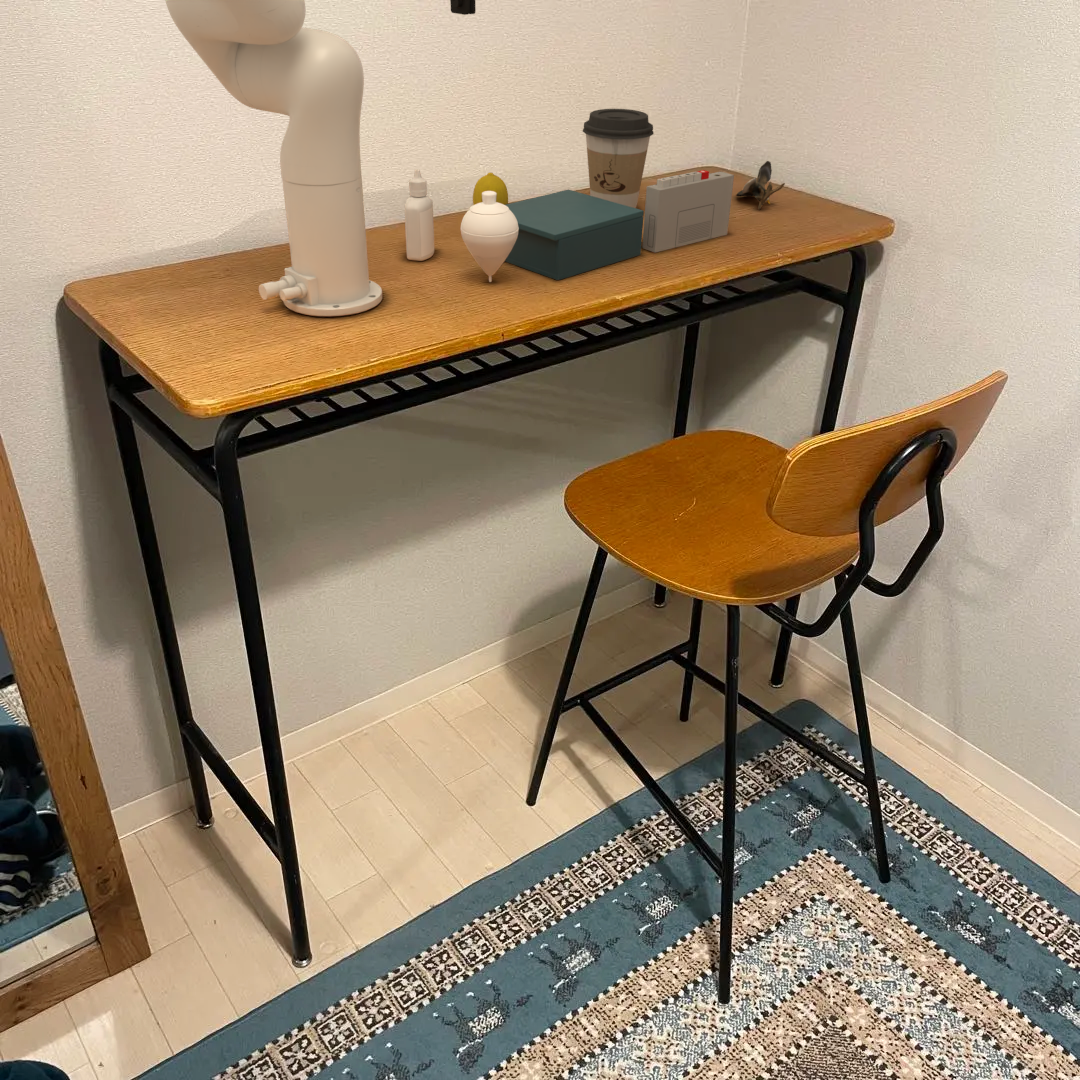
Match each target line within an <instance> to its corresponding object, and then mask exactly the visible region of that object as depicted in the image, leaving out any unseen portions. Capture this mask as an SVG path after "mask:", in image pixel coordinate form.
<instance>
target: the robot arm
mask: <svg viewBox="0 0 1080 1080" xmlns="http://www.w3.org/2000/svg"><path fill="white" fill-rule="evenodd" d="M164 1H165V5H166V8H167V10H168V13H169V15H170V17H171V19H172V21H173V23H174V24H175V26H176V28H177V29H178V30H179V32H180V33H181V35H182V36H183V37H184V38H185V40H186V41H187V42H188V44H189V45H190V47H192V49H193V50H194V51H195V53H196V54H197V55H198V56H199V58H200V59H201V60H202V61H203V63H204V64H205V65H206V66H207V67H208V69H209V70H210V72H212V74H213V75H214V77H215V78H216V79H217V80H218V81H219V83H220V84H221V85H222V86H223V88H224V89H225V90H226V91H227V92H228V93H229V94H230V95H231V96H232V97H233V98H234V99H235V100H236V101H238V102H239V103H240V104H242V105H244V106H246V107H248V108H251V109H255V110H257V111H263V112H269V113H274V114H280V115H285V116H287V117H289V120H288V125H287V128H286V131H285V133H284V136H283V139H282V141H281V146H280V152H279V153H280V154H279V164H280V165H279V166H280V175H281V180H282V181H281V182H282V190H283V198H284V199H283V201H284V207H285V216H286V217H285V218H286V225H287V235H288V245H289V252H290V254H289V255H290V262H291V263H290V264H291V266H289V267H285V268H284V269H283V270H284V276H281V277H280V278H279V280H275V281H272V280H271V281H268V282H265V283H261V284H259V285H258V293H259V296H260V298H261V299H262V300H264V301H267V300H270V299H274V298H277V297H279V298H280V300H282V301H283V305H284V306H285V307H287V308H288V309H289V310H290V311H293V312H295V313H299V314H302V315H307V316H313V317H341V316H350V315H355V314H359V313H363V312H366V311H369V310H371V309H373V308H376V306H378V305H379V304H380V303H381V301H382V300H383V289H382V287H381V286H380V285H379V284H378V283H377V282H375V281H373V280H370V274H369V273H370V272H369V271H370V270H369V258H368V244H367V243H368V242H367V231H366V217H365V215H366V214H365V203H364V201H365V200H364V188H363V174H362V163H361V162H362V160H361V140H360V139H361V138H360V137H361V135H360V133H361V132H360V131H361V130H360V129H361V113H362V112H361V111H362V105H363V96H364V88H365V87H364V85H365V76H364V75H365V74H364V67H363V64H362V61H361V59H360V56H359V54H358V52H357V51H356V49H355V48H354V47H353V46H352V44H350V42H348V41H347V40H345V39H344V38H343V37H341V36H339V35H338V34H335V33H333V32H330V31H327V30H323V29H317V28H310V27H303V26H304V23H305V19H306V14H307V13H306V12H307V11H306V2H305V0H164ZM449 1H450V12H451V13H452V14H457V15H464V16H466V15H475V14H476V10H477V9H476V0H449Z"/></svg>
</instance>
